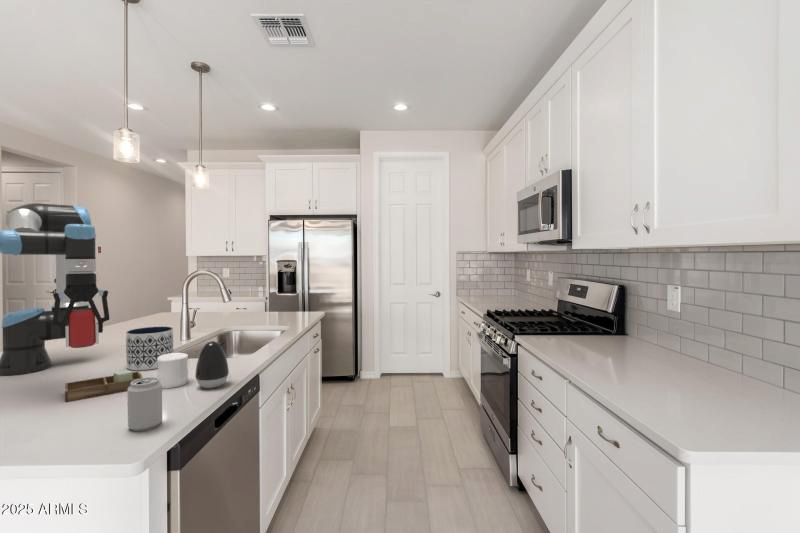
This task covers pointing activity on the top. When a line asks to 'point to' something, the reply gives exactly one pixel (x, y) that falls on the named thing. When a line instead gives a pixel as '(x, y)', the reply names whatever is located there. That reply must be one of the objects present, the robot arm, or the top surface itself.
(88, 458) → the top surface
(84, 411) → the top surface
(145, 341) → the planter
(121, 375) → the sage block
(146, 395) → the can
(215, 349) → the egg shaped speaker
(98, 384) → the tray
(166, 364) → the cup
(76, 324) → the beer can
